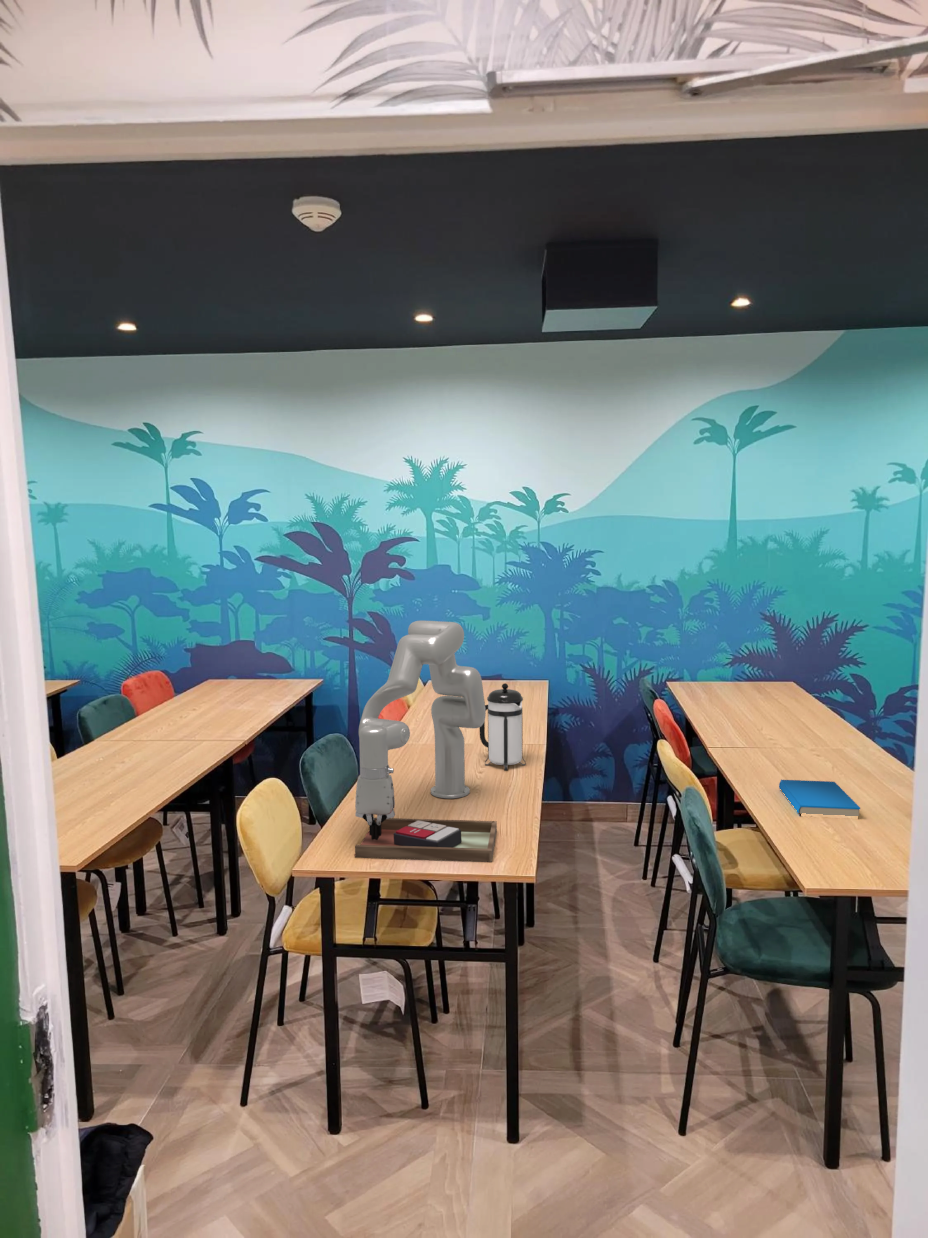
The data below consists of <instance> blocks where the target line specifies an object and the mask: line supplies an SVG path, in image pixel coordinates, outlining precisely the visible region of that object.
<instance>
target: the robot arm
mask: <svg viewBox="0 0 928 1238" xmlns="http://www.w3.org/2000/svg"><path fill="white" fill-rule="evenodd" d="M407 633H408V634H406V635H404V636H402V637H401V638H400V639H399V641H398V643H397V646H396V650H395V654H394V657H393V660H392V664H391V668H390V671H389V675H388V678H387V681H386V682H385V684H383V685H382V686H381V687H379V688H378V689H377V691H375V692H374V694H372V696H371V697H370V698H369V699H368V700H367V702H366V704H365V706H364V707H363V710H362V714H361V718H360V721H359V726H358V738H359V740H358V741H359V775H358V776H357V780H356V781H357V782H356V791H355V802H354V803H355V813H354V814H355V817H357V818H360V819H363V820H364V821H365V822H366V823H367V825H368V826H369V827H368V828H369V829H368V831H369V834H370V835H371V839H372V840H374V839H375V840H378V838H379V836H381V833H382V831H381V823H382V822H383V821H384V820H386V819H389V818H395V815H396V812H395V806H396V800H395V789H394V782H393V778H392V774H394V767H393V768H392V767H390V764H389V751H390V750H396V749H400V748H402V747H405V745H406V744H407V743H408V741H409V739H410V737H411V731H410V727H409V725H407V724H406V723H405V722H403V721H400V720H394V719H393V720H392V719H386V718H379V717H380V715H381V713H382V711H384V709H385V708H386V706H388V705H389V704H391V703H392V702H395V701H396V700H397V701H398V700H399V699H401V698H404V697H407V696H409V695H412V694H413V693H415V692H416V690H417V688H418V683H419V680H420V676H421V672H422V669H423V665H428V668H429V673H430V681H431V685H432V689H433V691H434V692H435V693H436V694H438V695H442V696H438V697H437V698H435V699H434V700H433V702H432V704H431V707H430V708H431V709H430V711H431V718H432V723H433V724H432V725H433V732H434V767H435V768H434V772H435V775H434V777H435V779H434V780H435V781H434V783H435V785H433V786H432V787H431V788H430V794H431V796H434V797H436V798H439V799H451V800H452V799H459V798H464V797H466V796H468V795H469V794H470V792H471V791H470V790H471V789H470V787H469V786H467V785H466V783H465V782H466V781H465V780H466V778H465V777H466V775H465V772H466V770H465V765H466V764H465V761H466V760H465V737H464V734H463V732H462V730H461V729H460V728H466V729H480V727H481V726H482V725H483V723H484V721H485V722H486V713H487V710H485V705H486V703H485V694H484V688H483V687H484V686H483V680H482V676H481V673H480V672H479V671H478V669H477V668H475V667H472V666H463V665H459V664H457V661H456V655H455V654H456V652H457V651H459V649H461V647H462V645H463V643H464V639H465V631H464V629H463V627H462V626H461V624H460V623H458V622H456V621H439V620H438V621H437V620H416V621H413V622H411V623H410V624H409V625H408V628H407ZM390 774H391V775H390ZM375 815H376V818H377V821H376V822H375V820H374V818H375Z"/></svg>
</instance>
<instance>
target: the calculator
mask: <svg viewBox="0 0 928 1238" xmlns="http://www.w3.org/2000/svg"><path fill="white" fill-rule="evenodd" d="M461 842H462V839H461V830H460V829H458V828H453V827H446V825H440V824H435V823H432V824H431V823H429V822H424V821H416V822H414V823H412V824H410V825H408V826H406V827H403V828H401V829H399V830H397V831H396V833H394V844H395V845H400V846H419V847H451V848H453V847H454V846H456V845H458V844H460V843H461Z"/></svg>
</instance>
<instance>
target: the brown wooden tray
mask: <svg viewBox="0 0 928 1238" xmlns="http://www.w3.org/2000/svg"><path fill="white" fill-rule="evenodd" d="M374 820H375V822H376V821H377V817H374ZM416 821H424V822H429V823H431V824H432V823H435V824H440V825H446V827H453V828H458V829H460V830H461V839H462V842H461V843H460V844H458V845H456V846H454V847H453V848H451V847H419V846H400V845H395V844H394V833H396V831H397V830H399V829H401V828H403V827H406V826H408V825H410V824H412V823H414V822H416ZM497 822H498V821H497V820H471V819H470V820H467V819H463V820H462V819H437V818H436V819H430V818H399V817H398V818H397V817H393V818H389V819H386V820H384V821H383V822H382V823H381V831H382V833H381V836H379V838H378V840H375V839H374V840H372V839H371V835H370V834H369V830H368V831H367V833H366V834H365V836H364V838H363V839H362V841H361V843H360V844H355V845H354V854H353V856H354V858H355V859H356V858H357V859H358V858H360V859H362V858H364V859H390V860H393V859H394V860H415V861H416V860H419V861H420V860H421V861H447V862H448V861H453V862H455V861H456V862H476V863H477V862H482V863H483V862H484V863H492V862H493V857H494V851H495V844H496V839H497V833H498V826H497V824H498V823H497Z"/></svg>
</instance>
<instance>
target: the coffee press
mask: <svg viewBox="0 0 928 1238" xmlns="http://www.w3.org/2000/svg"><path fill="white" fill-rule="evenodd" d="M508 688H509V685H508V684H507V683H502V684H501V688H500V689H495V690H492V691H491V692H490V693H489V694H488V696H487V698H486V700H487V704H485V710H486V711H487V738H488V740H487V739H486V735H485V734H486V733H485V732H486V731H485V730H486V729H485V727H486V724H485V723H486V720H485V721H484V723H483V725H482V726H481V727H479V740H480V742H481V744H482V745H483V746H484V747H486V748H487V752H488V757H486V760H485V761H484V765H485V766H487V767H488V766H489V765H491V764H494V765H500V766H503V771H504V772H505V771H506V772H507V771H509V767H508V766H512V765H516V764H520V765H522V766H526V764H527V763H526V760H525V759H524V757H523V754H524V753H523V746H524V745H523V743H524V741H523V734H524V733H523V732H524V731H523V729H524V728H523V727H524V725H523V701H524V697H523V696H522V694H521V692H519V691H518V690H516V689H510V688H509V689H508ZM488 760H489V761H490V762H488V763H487V761H488ZM522 761H524V764H523V763H522Z"/></svg>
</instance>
